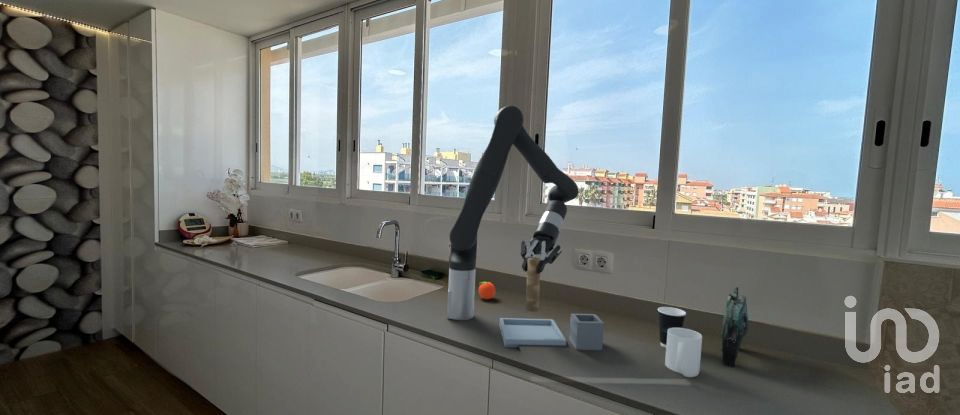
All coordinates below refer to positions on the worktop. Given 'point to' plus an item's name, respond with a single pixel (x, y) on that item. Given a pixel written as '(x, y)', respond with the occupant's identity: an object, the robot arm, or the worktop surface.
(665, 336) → the dixie cup
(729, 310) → the dark green tall piece
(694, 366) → the mug
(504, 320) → the tray
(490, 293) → the clementine
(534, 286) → the pin
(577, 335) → the light blue hollow box
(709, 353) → the worktop surface
